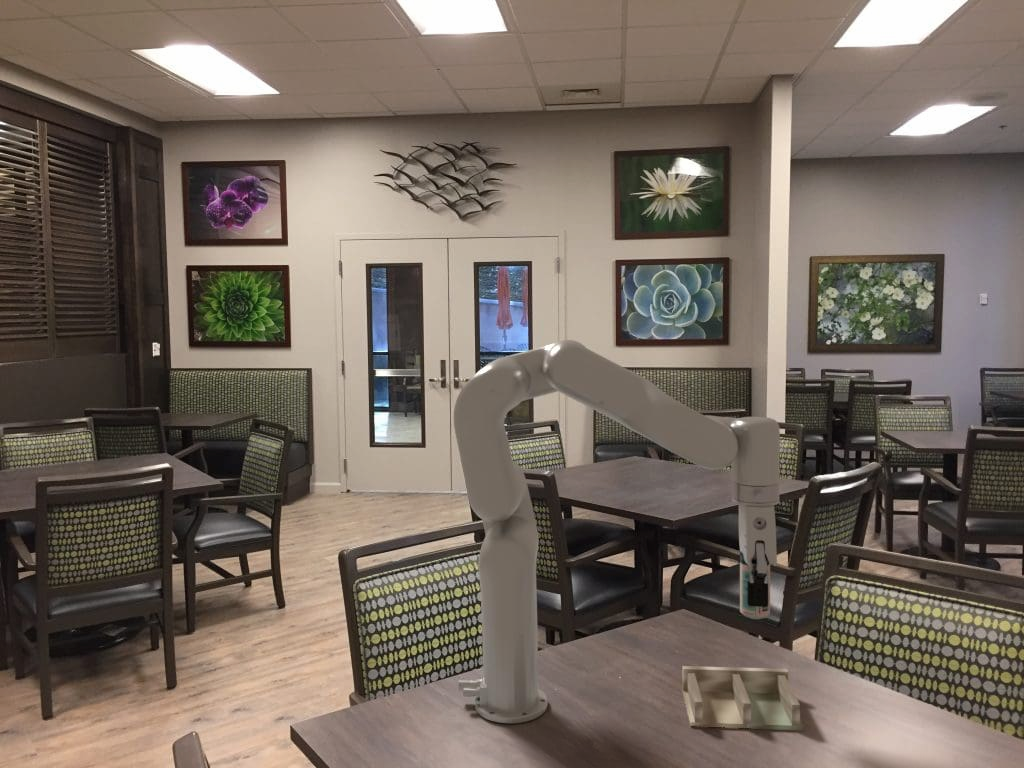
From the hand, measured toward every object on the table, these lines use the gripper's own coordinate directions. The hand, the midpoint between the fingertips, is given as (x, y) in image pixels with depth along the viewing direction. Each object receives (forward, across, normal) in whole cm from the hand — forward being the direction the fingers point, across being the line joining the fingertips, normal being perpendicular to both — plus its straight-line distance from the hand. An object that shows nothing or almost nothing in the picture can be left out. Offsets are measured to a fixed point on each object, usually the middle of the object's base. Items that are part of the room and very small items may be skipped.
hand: (755, 598), depth 135 cm
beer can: (+3, 0, 0) cm, 3 cm away
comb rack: (+20, 0, +2) cm, 20 cm away
